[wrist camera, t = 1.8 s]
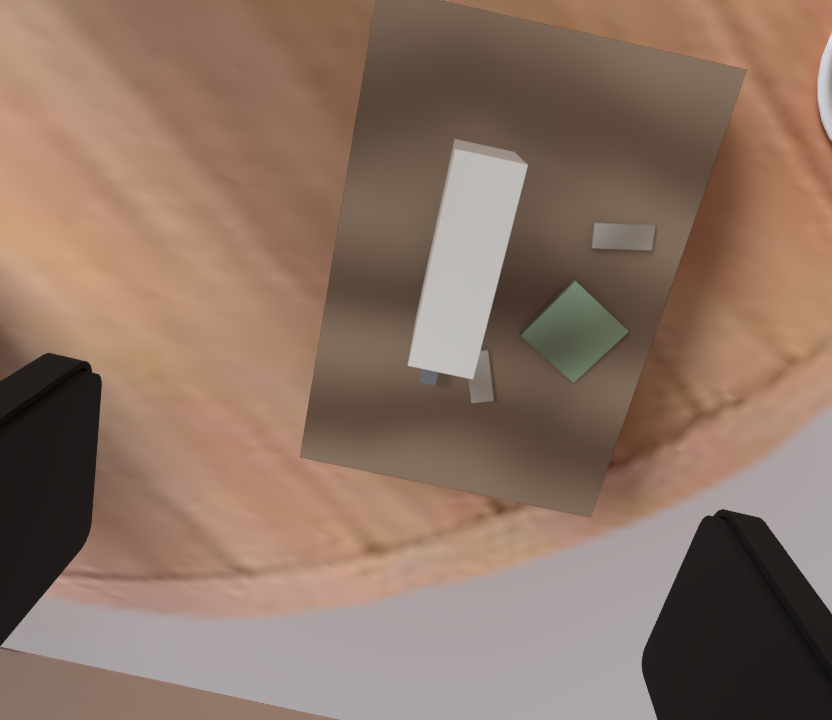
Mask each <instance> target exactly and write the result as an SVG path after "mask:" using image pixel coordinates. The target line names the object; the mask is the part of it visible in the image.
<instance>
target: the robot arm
mask: <svg viewBox="0 0 832 720" xmlns="http://www.w3.org/2000/svg"><path fill="white" fill-rule="evenodd" d="M101 388H102V381H101V377H100V375H99V374H96V373H92V369H91V365H90V364H89V363H88V362H86V361H82V360H77V359H73V358H69V357H65V356H60V355H56V354H52V353H47V354H44V355H42V356H41V357H39V358H37V359H36V360H34V361H33V362H31V363H29V364H28V365H26V366H24V367H23V368H21V369H20V370H18V371H16V372H15V373H13V374H12V375H10V376H8V377H7V378H5V379H3V380H2V381H0V646H1V645H2V644H3V642H4V641H5V640H6V639H7V638H8V636H9V635H10V634H11V633H12V631H13V630H14V629H15V628H16V627H17V626H18V624H19V623H20V622H21V621H22V619H23V618H24V617H25V616H26V615H27V613H28V612H29V611H30V610H31V609H32V607H33V606H34V605H35V604H36V603H37V602H38V600H39V599H40V598H41V597H42V596H43V594H44V593H45V592H46V591H47V590H48V588H49V587H50V586H51V585H52V584H53V582H54V581H55V580H56V579H57V578H58V576H59V575H60V574H61V573H62V572H63V570H64V569H65V568H66V567H67V566H68V564H69V563H70V562H71V561H72V560H73V558H74V557H75V556H76V555H77V554H78V552H79V551H80V550H81V549H82V547H83V546H84V544H85V542H86V540H87V538H88V535H89V532H90V528H91V522H92V509H93V495H94V482H95V468H96V455H97V441H98V428H99V414H100V401H101ZM642 672H643V676H644V679H645V682H646V685H647V689H648V692H649V694H650V698H651V701H652V704H653V707H654V710H655V713H656V716H657V719H658V720H832V614H831V612H830V611H829V610H828V608H827V607H826V605H825V604H824V603H823V602H822V600H821V599H820V597H819V596H818V595H817V593H816V592H815V590H814V589H813V588H812V586H811V585H810V584H809V582H808V581H807V579H806V578H805V577H804V575H803V574H802V573H801V571H800V570H799V569H798V567H797V566H796V564H795V563H794V562H793V560H792V559H791V558H790V556H789V555H788V553H787V552H786V551H785V549H784V548H783V546H782V545H781V544H780V542H779V541H778V540H777V538H776V537H775V535H774V534H773V533H772V531H771V530H770V529H769V527H768V526H767V524H766V523H765V522H764V521H763V520H762V519H761V518H758V517H754V516H750V515H745V514H741V513H736V512H733V511H728V510H724V509H722V510H719V511H718V512H717V513H716V514H715V515H714V516H709V515H708V516H706V517H704V519H702V521H701V523H700V525H699V527H698V529H697V531H696V533H695V536H694V538H693V540H692V542H691V545H690V547H689V549H688V552H687V554H686V556H685V558H684V560H683V563H682V565H681V567H680V569H679V572H678V574H677V576H676V579H675V581H674V583H673V585H672V588H671V590H670V592H669V594H668V597H667V599H666V601H665V603H664V606H663V608H662V610H661V613H660V615H659V617H658V619H657V621H656V624H655V626H654V628H653V630H652V633H651V635H650V637H649V639H648V642H647V644H646V646H645V649H644V652H643V657H642ZM0 720H338V719H332V718H328V717H323V716H319V715H314V714H310V713H305V712H301V711H296V710H291V709H286V708H282V707H277V706H273V705H268V704H264V703H259V702H254V701H250V700H245V699H241V698H236V697H232V696H227V695H222V694H218V693H213V692H209V691H204V690H199V689H195V688H190V687H186V686H181V685H177V684H172V683H167V682H163V681H158V680H153V679H148V678H143V677H139V676H134V675H129V674H125V673H120V672H115V671H110V670H106V669H101V668H97V667H92V666H87V665H83V664H78V663H73V662H68V661H64V660H59V659H55V658H50V657H45V656H41V655H36V654H31V653H26V652H22V651H17V650H12V649H8V648H3V647H0Z"/></svg>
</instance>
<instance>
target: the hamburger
mask: <svg viewBox="0 0 832 720" xmlns="http://www.w3.org/2000/svg"><path fill="white" fill-rule="evenodd" d="M817 103H818V108H819V113H820V118H821V122H822V124H823V126H824V128H825V131H826V133H827V135H828V137H829V139H830V140H831V142H832V33H831V35H830V37H829V40H828V42H827V45H826V47H825V50H824V53H823V55H822V58H821V63H820V68H819V73H818V78H817Z"/></svg>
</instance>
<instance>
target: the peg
mask: <svg viewBox="0 0 832 720" xmlns="http://www.w3.org/2000/svg"><path fill="white" fill-rule="evenodd" d="M527 167H528V164H527V163H526V162H524V161H523V160H522V159H521V158H520V157H519V156H518V155H517V154H516V153H515V152H512V151H508V150H503V149H499V148H494V147H489V146H485V145H480V144H476V143H471V142H467V141H462V140H458V139H455V140H454V145H453V149H452V154H451V159H450V163H449V168H448V172H447V177H446V182H445V186H444V191H443V196H442V200H441V205H440V209H439V214H438V219H437V223H436V228H435V232H434V237H433V242H432V246H431V251H430V255H429V260H428V265H427V269H426V274H425V279H424V283H423V288H422V292H421V297H420V302H419V306H418V311H417V315H416V320H415V326H414V332H413V338H412V344H411V350H410V355H409V361H408V366H411V367H416V368H421V369H422V371H421V376H420V382H421V383H426V384H431V385H436V381H437V377H438V373H439V372H440V373H444V374H449V375H454V376H458V377H463V378H468V379H473V378H474V374H475V370H476V366H477V362H478V358H479V354H480V350H481V346H482V343H483V339H484V335H485V331H486V327H487V323H488V319H489V315H490V311H491V307H492V304H493V300H494V296H495V292H496V288H497V284H498V280H499V276H500V272H501V268H502V265H503V261H504V257H505V253H506V249H507V245H508V241H509V237H510V233H511V229H512V226H513V222H514V218H515V214H516V210H517V206H518V202H519V198H520V194H521V190H522V187H523V183H524V179H525V175H526V171H527Z"/></svg>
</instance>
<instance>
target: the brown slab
mask: <svg viewBox="0 0 832 720" xmlns="http://www.w3.org/2000/svg"><path fill="white" fill-rule="evenodd" d="M746 71H747V70H746V69H742V68H738V67H733V66H729V65H724V64H720V63H715V62H711V61H707V60H702V59H698V58H693V57H689V56H684V55H680V54H675V53H671V52H667V51H662V50H658V49H653V48H649V47H644V46H640V45H635V44H631V43H627V42H622V41H618V40H613V39H609V38H604V37H600V36H596V35H591V34H587V33H582V32H578V31H573V30H569V29H564V28H560V27H556V26H551V25H547V24H542V23H538V22H533V21H529V20H525V19H520V18H516V17H511V16H507V15H502V14H498V13H493V12H489V11H485V10H480V9H476V8H471V7H467V6H462V5H458V4H454V3H449V2H445V1H440V0H376V2H375V8H374V14H373V20H372V26H371V32H370V38H369V44H368V50H367V56H366V62H365V68H364V74H363V80H362V86H361V92H360V98H359V104H358V110H357V116H356V122H355V128H354V134H353V140H352V146H351V152H350V158H349V164H348V170H347V176H346V182H345V188H344V194H343V200H342V206H341V212H340V218H339V224H338V230H337V236H336V242H335V248H334V254H333V260H332V266H331V272H330V278H329V285H328V291H327V297H326V303H325V309H324V315H323V321H322V327H321V333H320V339H319V345H318V351H317V357H316V363H315V369H314V375H313V381H312V387H311V393H310V399H309V405H308V411H307V417H306V423H305V429H304V435H303V441H302V447H301V453H300V458H305V459H310V460H315V461H319V462H324V463H329V464H334V465H339V466H343V467H348V468H353V469H358V470H363V471H368V472H372V473H377V474H382V475H387V476H392V477H397V478H401V479H406V480H411V481H416V482H421V483H426V484H430V485H435V486H440V487H445V488H450V489H455V490H459V491H464V492H469V493H474V494H479V495H484V496H488V497H493V498H498V499H503V500H508V501H513V502H517V503H522V504H527V505H532V506H537V507H541V508H546V509H551V510H556V511H561V512H566V513H570V514H575V515H580V516H585V517H591V515H592V512H593V509H594V506H595V503H596V500H597V497H598V495H599V492H600V489H601V486H602V483H603V480H604V477H605V474H606V472H607V469H608V466H609V463H610V460H611V457H612V454H613V452H614V449H615V446H616V443H617V440H618V437H619V434H620V432H621V429H622V426H623V423H624V420H625V417H626V414H627V412H628V409H629V406H630V403H631V400H632V397H633V394H634V392H635V389H636V386H637V383H638V380H639V377H640V374H641V372H642V369H643V366H644V363H645V360H646V357H647V354H648V351H649V349H650V346H651V343H652V340H653V337H654V334H655V331H656V329H657V326H658V323H659V320H660V317H661V314H662V311H663V309H664V306H665V303H666V300H667V297H668V294H669V291H670V289H671V286H672V283H673V280H674V277H675V274H676V271H677V269H678V266H679V263H680V260H681V257H682V254H683V251H684V248H685V246H686V243H687V240H688V237H689V234H690V231H691V228H692V226H693V223H694V220H695V217H696V214H697V211H698V208H699V206H700V203H701V200H702V197H703V194H704V191H705V188H706V186H707V183H708V180H709V177H710V174H711V171H712V168H713V166H714V163H715V160H716V157H717V154H718V151H719V148H720V146H721V143H722V140H723V137H724V134H725V131H726V128H727V125H728V123H729V120H730V117H731V114H732V111H733V108H734V105H735V103H736V100H737V97H738V94H739V91H740V88H741V85H742V83H743V80H744V77H745V74H746ZM455 139H458V140H462V141H467V142H471V143H476V144H480V145H485V146H489V147H494V148H499V149H503V150H508V151H512V152H515V153H516V154H517V155H518V156H519V157H520V158H521V159H522V160H523V161H524V162H526V163H527V164H528V167H527V171H526V175H525V179H524V183H523V187H522V190H521V194H520V198H519V202H518V206H517V210H516V214H515V218H514V222H513V226H512V229H511V233H510V237H509V241H508V245H507V249H506V253H505V257H504V261H503V265H502V268H501V272H500V276H499V280H498V284H497V288H496V292H495V296H494V300H493V304H492V307H491V311H490V315H489V319H488V323H487V327H486V331H485V335H484V339H483V343H482V346H481V350H480V354H479V358H478V362H477V366H476V370H475V374H474V378H473V379H468V378H463V377H458V376H454V375H449V374H444V373H440V372H439V373H438V377H437V381H436V385H431V384H426V383H421V382H420V376H421V371H422V369H421V368H416V367H411V366H408V361H409V355H410V350H411V344H412V338H413V332H414V326H415V320H416V315H417V311H418V306H419V302H420V297H421V292H422V288H423V283H424V279H425V274H426V269H427V265H428V260H429V255H430V251H431V246H432V242H433V237H434V232H435V228H436V223H437V219H438V214H439V209H440V205H441V200H442V196H443V191H444V186H445V182H446V177H447V172H448V168H449V163H450V159H451V154H452V149H453V145H454V140H455Z"/></svg>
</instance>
